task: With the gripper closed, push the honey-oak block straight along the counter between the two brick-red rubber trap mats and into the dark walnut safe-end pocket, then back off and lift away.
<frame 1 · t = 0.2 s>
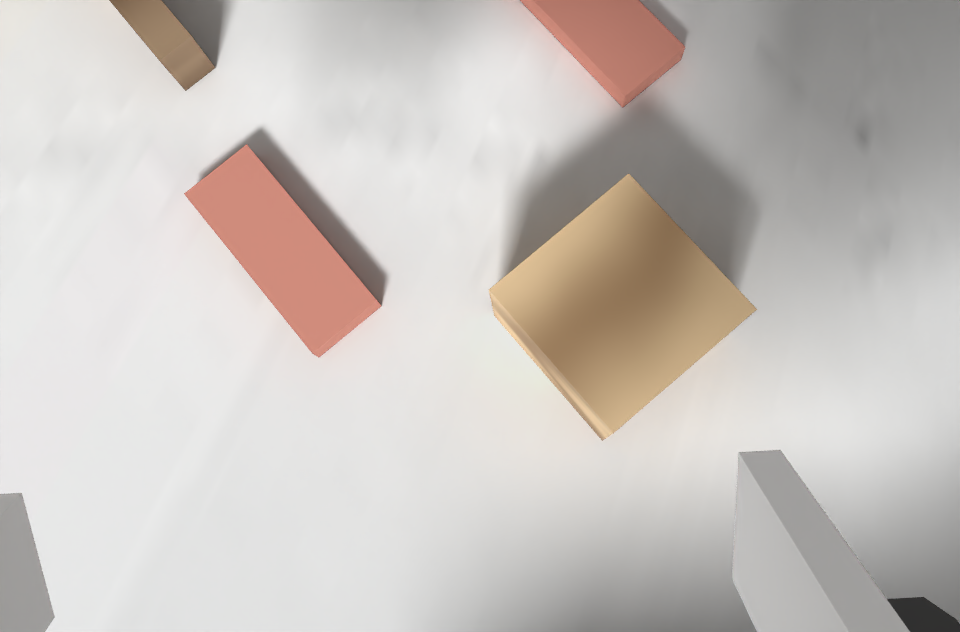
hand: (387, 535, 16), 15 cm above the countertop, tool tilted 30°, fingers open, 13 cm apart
trap mats: (437, 131, 34), on the countertop
oak block: (609, 325, 32), on the countertop
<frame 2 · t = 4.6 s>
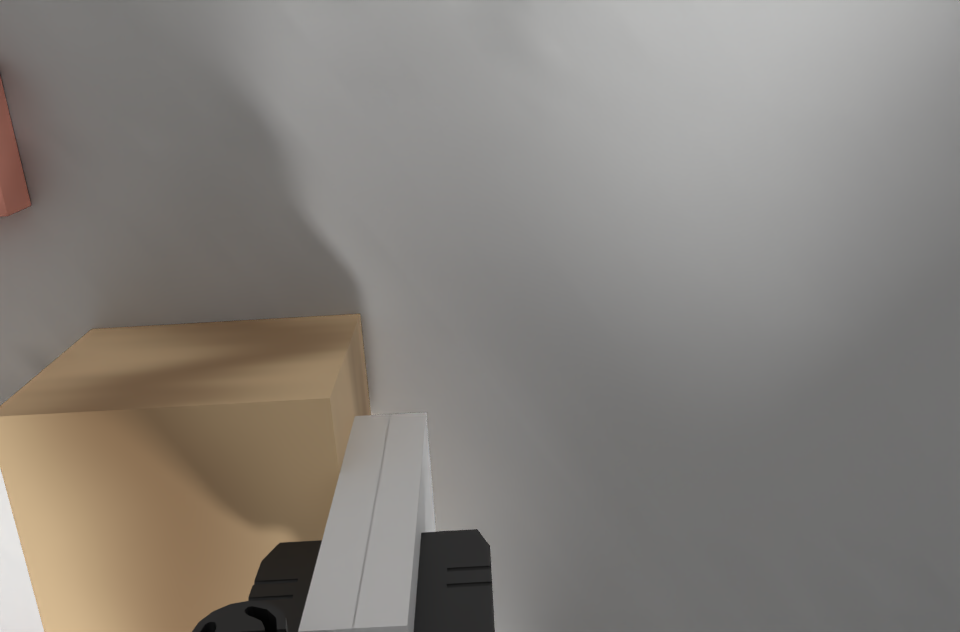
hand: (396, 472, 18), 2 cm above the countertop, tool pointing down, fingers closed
oak block: (245, 441, 20), on the countertop
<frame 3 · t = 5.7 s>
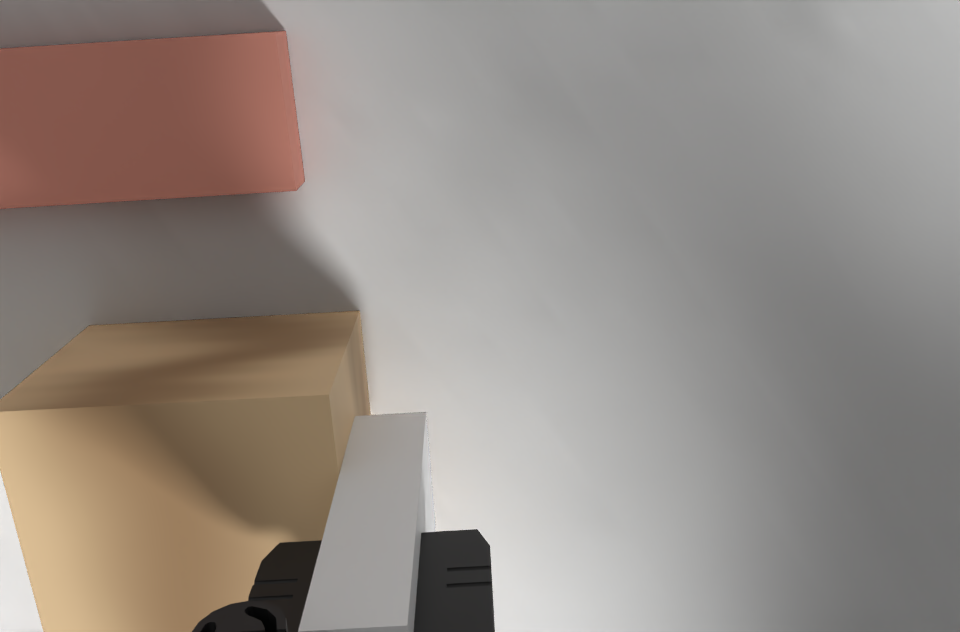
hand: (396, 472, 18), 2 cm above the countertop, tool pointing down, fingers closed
trap mats: (165, 447, 20), on the countertop
oak block: (244, 437, 20), on the countertop
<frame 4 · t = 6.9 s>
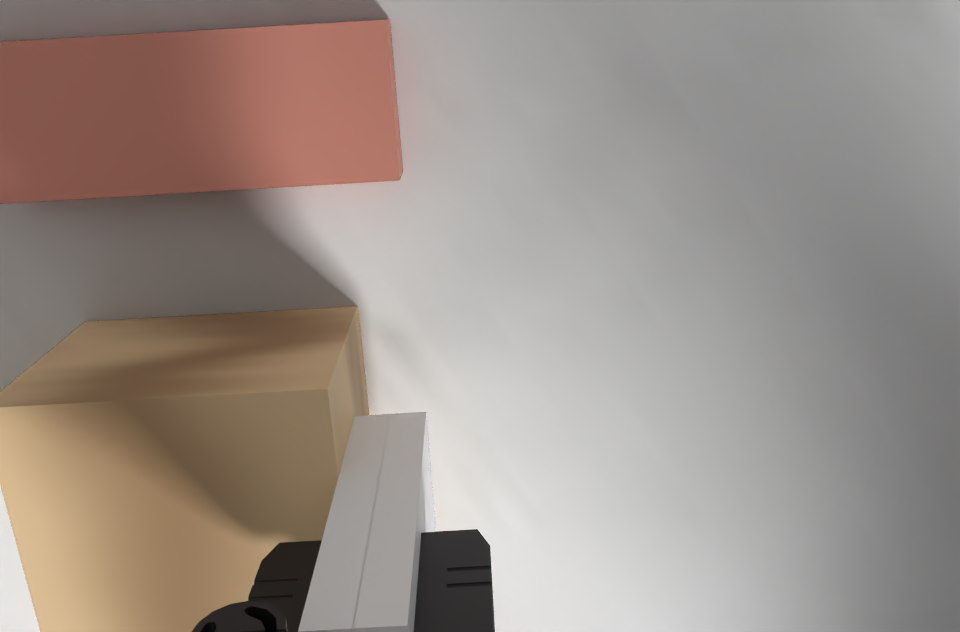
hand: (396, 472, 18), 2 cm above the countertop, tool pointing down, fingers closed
trap mats: (252, 439, 20), on the countertop
oak block: (242, 434, 20), on the countertop
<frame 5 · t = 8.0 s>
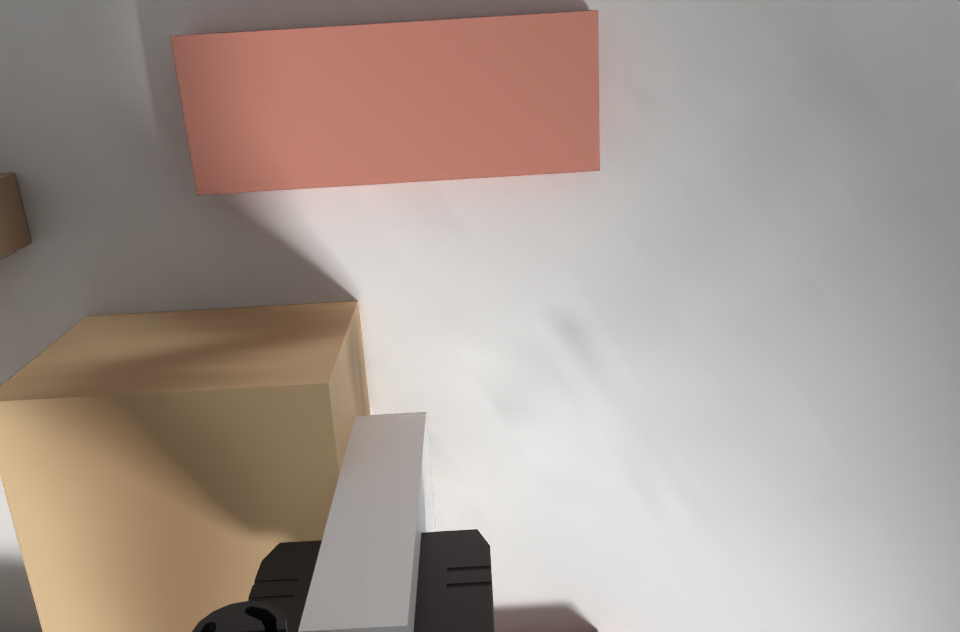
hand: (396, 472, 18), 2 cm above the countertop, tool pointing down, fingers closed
trap mats: (424, 430, 20), on the countertop
oak block: (242, 429, 20), on the countertop, touching gripper
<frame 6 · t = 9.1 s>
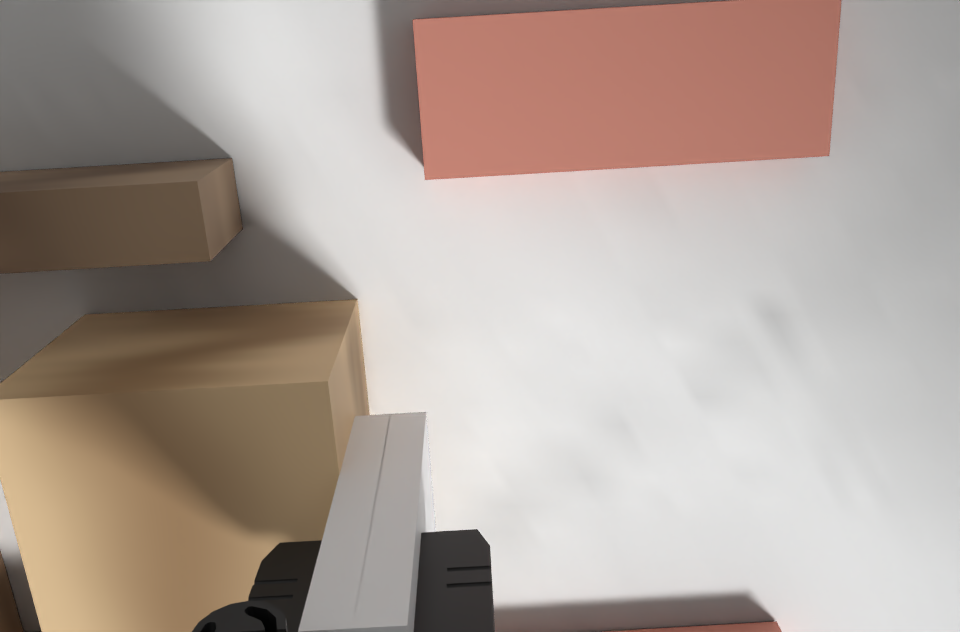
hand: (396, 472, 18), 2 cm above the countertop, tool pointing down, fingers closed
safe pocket: (68, 476, 19), on the countertop
trap mats: (619, 418, 20), on the countertop
oak block: (241, 428, 20), on the countertop
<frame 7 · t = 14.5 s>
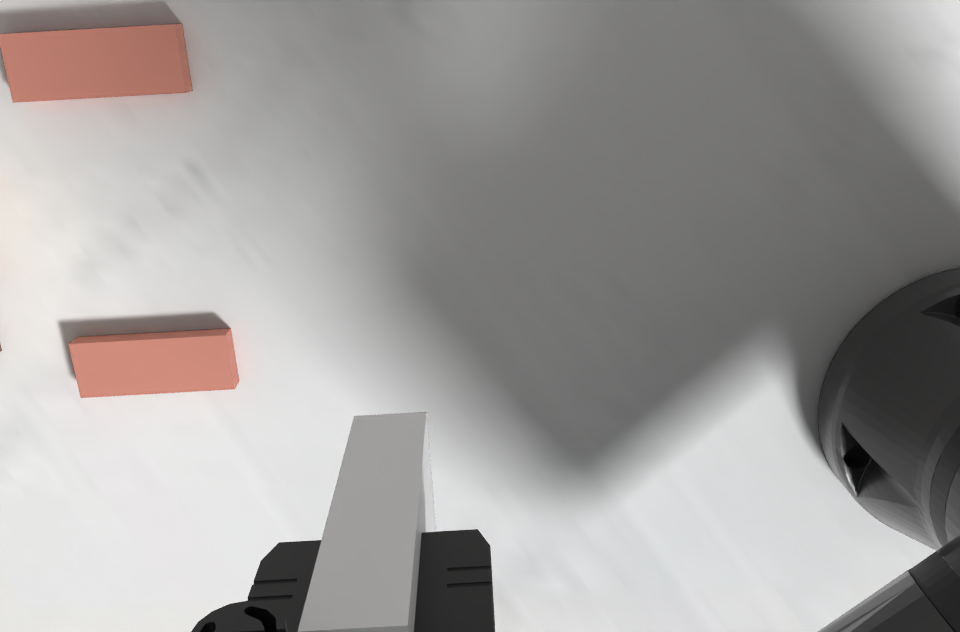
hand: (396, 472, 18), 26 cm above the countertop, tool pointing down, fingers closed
trap mats: (131, 219, 43), on the countertop
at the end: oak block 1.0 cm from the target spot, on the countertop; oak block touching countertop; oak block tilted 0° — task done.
